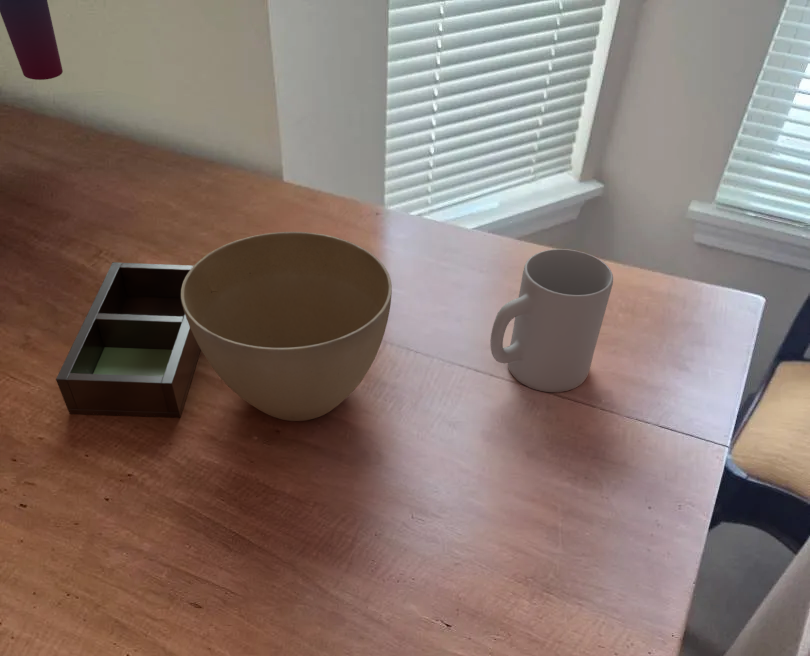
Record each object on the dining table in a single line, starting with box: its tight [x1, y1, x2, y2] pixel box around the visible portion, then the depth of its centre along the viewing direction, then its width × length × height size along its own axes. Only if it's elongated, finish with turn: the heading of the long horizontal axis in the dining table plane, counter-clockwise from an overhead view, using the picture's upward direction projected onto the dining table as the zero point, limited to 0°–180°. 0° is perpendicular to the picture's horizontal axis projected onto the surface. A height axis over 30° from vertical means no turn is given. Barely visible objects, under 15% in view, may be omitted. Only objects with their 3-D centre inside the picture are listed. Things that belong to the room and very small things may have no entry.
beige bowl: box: [181, 231, 393, 422], centre depth 70 cm, size 18×18×12 cm
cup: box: [0, 0, 64, 81], centre depth 95 cm, size 7×7×15 cm
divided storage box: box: [55, 261, 202, 419], centre depth 76 cm, size 10×20×4 cm, turn 179°
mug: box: [490, 248, 614, 393], centre depth 74 cm, size 12×8×11 cm
